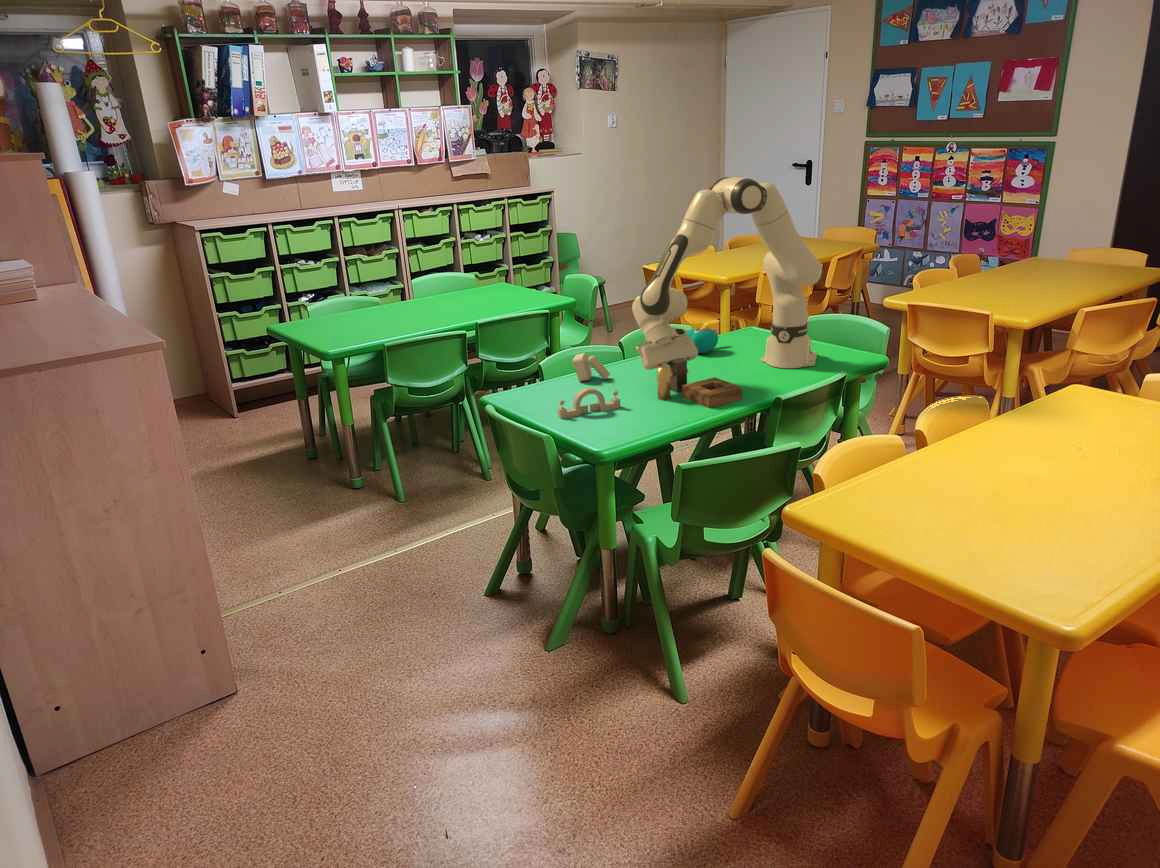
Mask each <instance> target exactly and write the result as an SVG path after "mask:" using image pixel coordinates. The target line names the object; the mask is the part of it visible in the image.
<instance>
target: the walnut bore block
mask: <svg viewBox="0 0 1160 868" xmlns="http://www.w3.org/2000/svg"><path fill="white" fill-rule="evenodd" d="M681 394H682V396H681V397H682V398H684V399H685V400H688V401H689V402H693V403H696V404H698V405H701V406H703V407H704V408H708V409H710V408H714V407H717V406H721V405H725V404H729V403H732V402H736V401H740V400H742V399H743V386H740V385H738V384H736V383H732V382H729V381H727V380H723V379H720V378H718V377H715V376H714V377H710V378H707V379H702V380H698V381H695V382H690V383H687V384H686V385H682V393H681Z"/></svg>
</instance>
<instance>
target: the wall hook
mask: <svg viewBox="0 0 1160 868" xmlns="http://www.w3.org/2000/svg"><path fill="white" fill-rule="evenodd" d="M572 363H573V364H572V365H573V366H574V371H575V374H576V375H577V379H578V382H579V383H581V382H585V381H589V380H590V379H591V377H592V375H593V372H592V369H591V367H592V368H593V369H594V371H596V372H597V374H598V375H599V376H600V377H601V378H602V380H603V379H604V380H606V379H607V378H608V377H609V376H610V375H611V372H610V371H609V370H607V368H606V367H605V366H604V364H603V363H602V362H601V361H600V359H598V358H597V357H596V356H595V355H590V356H589V357H588V355H587V352H583V353H578V354H575V355H574V357H573V359H572Z"/></svg>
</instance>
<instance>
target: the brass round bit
mask: <svg viewBox="0 0 1160 868" xmlns="http://www.w3.org/2000/svg"><path fill="white" fill-rule="evenodd" d="M656 374H657V375H656V377H657V379H656V380H657V399H658V400H660V401H669V400H670V399H671V390H670V367H669V365H668V366H659V367H657V368H656Z"/></svg>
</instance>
